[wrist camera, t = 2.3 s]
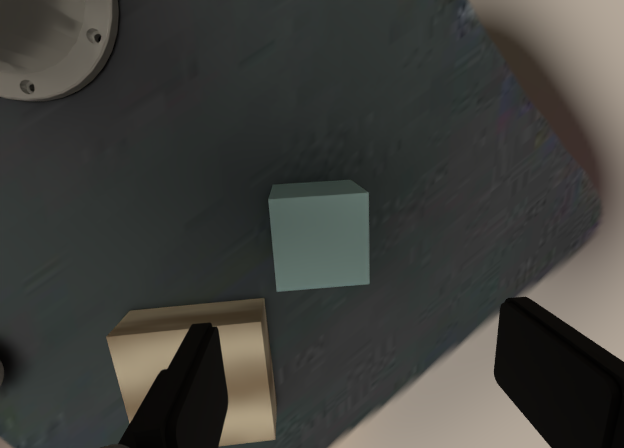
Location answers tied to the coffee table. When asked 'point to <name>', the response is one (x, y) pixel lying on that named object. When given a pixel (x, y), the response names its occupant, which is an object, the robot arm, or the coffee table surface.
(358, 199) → the teal cube
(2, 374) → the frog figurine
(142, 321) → the birch block
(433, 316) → the coffee table surface
